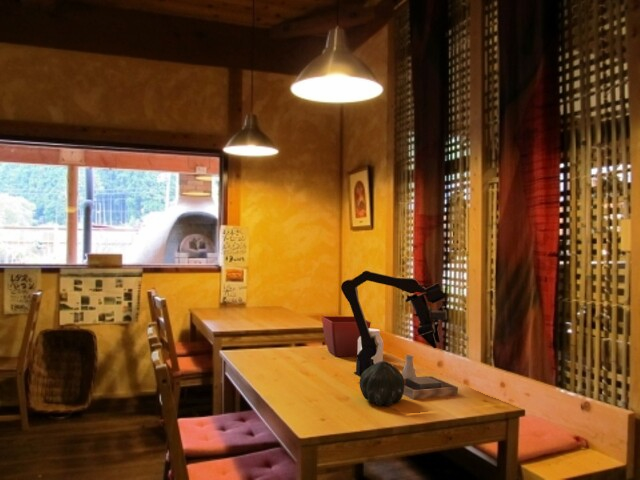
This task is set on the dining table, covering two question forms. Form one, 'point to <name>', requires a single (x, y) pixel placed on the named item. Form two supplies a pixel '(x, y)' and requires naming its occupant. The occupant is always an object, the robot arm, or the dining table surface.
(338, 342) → the plant pot
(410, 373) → the flask
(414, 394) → the brown tray
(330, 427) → the dining table surface
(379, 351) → the jar
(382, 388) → the squash
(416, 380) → the block
